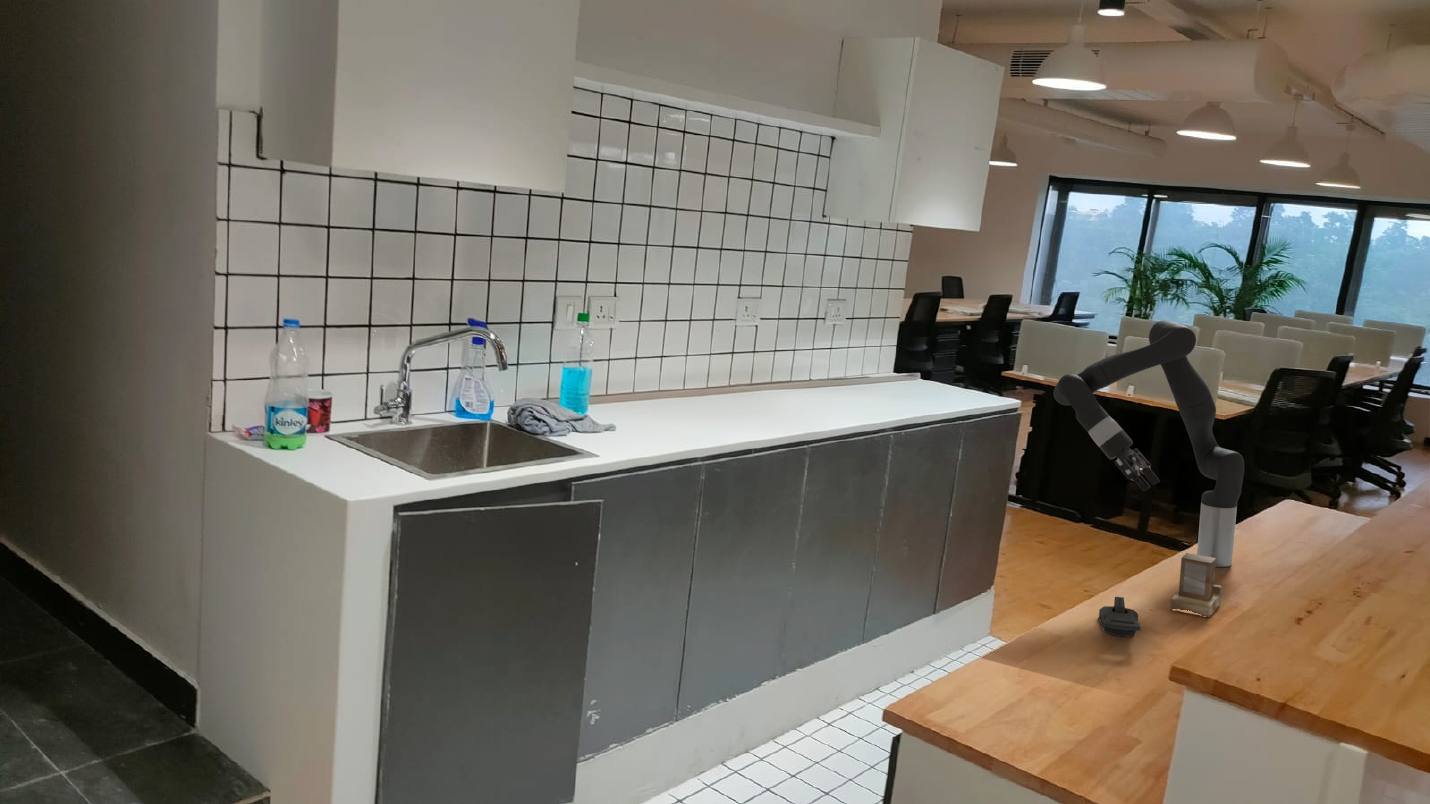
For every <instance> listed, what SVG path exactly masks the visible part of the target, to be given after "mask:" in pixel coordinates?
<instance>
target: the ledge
mask: <svg viewBox="0 0 1430 804" xmlns="http://www.w3.org/2000/svg"><path fill="white" fill-rule="evenodd" d="M1222 587H1223V586H1222V585H1219V584H1214V588H1213V596H1212V598H1211V599H1210V600H1209V601H1203V600H1198V599H1193V598H1188V597H1183V596H1178V595H1179V590H1178V591H1177V592H1176V593H1175V594H1174V595H1173V596H1171V598H1170V609H1180V610H1187V611H1188V610H1189V611H1192V612H1194V613H1198V614H1201V615H1202V616H1206V617H1209V616H1210V615H1211V616H1212V615H1213V614H1214V613H1215V611H1216V610H1217V609H1218V607H1220V605H1221V598H1222V597H1221V596H1222ZM1170 609H1169V610H1170ZM1211 616H1210V617H1211ZM1210 617H1209V618H1210Z"/></svg>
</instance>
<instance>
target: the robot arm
mask: <svg viewBox="0 0 1430 804" xmlns="http://www.w3.org/2000/svg"><path fill="white" fill-rule="evenodd" d="M1148 341H1149V344H1148V345H1145V346H1143V347H1139V348H1137V349H1133V350H1129V351H1123V352H1120V353H1119V352H1118V353H1115V354H1111V355H1109V356H1107V357H1104V358H1102V359H1100V360H1098V361H1096V362H1094V363H1092V364H1090V365H1089V366H1087V367H1086V368H1085V369H1083V371H1081V372H1080V373H1078V374H1074V373H1067V374H1064V375H1063V376H1061V378H1060V379H1059V380H1058V382H1057V383H1056V384H1055V386H1054V389H1053V397H1054V400H1055V401H1056V402H1057V403H1059V405H1062V406H1071V407H1072V408H1073V410H1074V411H1075V418H1076V420H1077V422H1078V423H1079V424H1080V425H1081V426H1082V427H1083V428H1084V430H1085V431H1086V432H1087V433H1088V435H1089V436H1090V437H1091V439H1092V440H1093V442H1094V443H1095V444H1096V446H1098V447H1099V448H1100V450H1101V451H1102V452H1103V454H1105V456H1106V457H1107V458H1108V460H1113V459H1115V458H1116V460H1114V461H1113V463H1114V464H1115V466H1116V467H1117V468H1118V470H1119V471H1120V472H1121V473H1122V475H1123V476H1124V477H1125V478H1126V480H1128V481H1133V482H1134V483H1135V484H1136V485H1137V486H1138V488H1139V489H1140V490H1141V491H1142V492H1146V491H1147V490H1149V489H1150V488H1151V485H1152V486H1155V485H1157V484H1158V483H1160V479H1159V477H1158V476H1157V475H1156V473H1154V471H1153V470H1152V463H1151V462H1150V461H1149V460H1148V459H1147V458H1146V457H1145V456H1144V454H1143V453H1142V452H1140V450H1139V449H1138V448H1134V449H1133V450H1132V448H1131V446H1133V443H1134V441H1133V440H1132V439H1131V437H1130V436H1129V435H1128V434H1127V433H1126V432H1125V430H1124V429H1123V428H1122V427H1121V426H1120V424H1119V423H1118V422H1117V421H1116V420H1115V419H1113V418H1112V417H1111V416H1110V415H1109V414H1108V412H1107V411H1106V410H1105V409H1104V408H1103V407H1102V405H1100V403H1099V402H1098V401H1097V399H1096V397H1095V395H1094V393H1095V392H1098V391H1100V390H1101V389H1104V388H1106V387H1109V386H1110V385H1112V384H1115V383H1117V382H1118V381H1121V380H1122V379H1125V378H1127V377H1129V376H1132V375H1134V374H1137V373H1140V372H1143V371H1145V370H1148V369H1150V368H1153V367H1154V368H1155V367H1157V366H1161V369H1162V370H1163V372H1164V374H1165V377H1166V381H1167V383H1168V385H1169V388H1170V390H1171V393H1172V397H1173V399H1174V402H1175V404H1176V407H1177V409H1178V411H1179V414H1180V417H1181V418H1182V421H1183V424H1184V426H1185V429H1186V432H1187V434H1188V438H1189V440H1190V443H1191V446H1192V450H1193V454H1194V458H1195V461H1196V465H1197V468H1198V470H1199V472H1200V474H1201V475H1203V476H1204V477H1206V478H1208V479H1211V480H1215V486H1214V489H1213V490H1207V491H1204V492H1203V493H1202V495H1201V500H1200V514H1199V525H1198V526H1199V527H1198V539H1197V548H1196V555H1201V556H1207V557H1212V558H1216V565H1215V568H1216V567H1217V568H1219V567H1220V568H1225V567H1226V568H1227V567H1231V566H1232V565H1233V564H1232V563H1233V554H1234V544H1235V534H1236V521H1237V519H1236V518H1237V510H1238V509H1237V508H1238V501H1239V499H1240V497H1241V494H1242V487H1243V482H1244V475H1245V460H1244V457H1243V455H1242V454H1240V453H1239V452H1238V451H1235V450H1230V449H1227V448H1223V447H1220V446H1219V444H1218V442H1217V440H1216V438H1215V435H1214V432H1213V425H1214V422H1215V419H1216V414H1217V406H1216V404H1215V400H1214V398H1213V395H1212V393H1211V390H1210V388H1209V387H1208V385H1207V383H1206V382H1205V381H1204V379H1203V377H1202V376H1201V374H1199V373H1198V371H1197V370H1196V369H1195V367H1194V366H1193V365H1192V363H1191V362H1190V361H1189V358H1188V357H1187V356H1188V355H1190V354H1191V353H1192V352H1193V351H1194V349H1195V347H1196V343H1197V337H1196V333H1195V332H1194V331H1193V329H1191V328H1189V327H1188V326H1186V325H1184V324H1180V323H1177V322H1175V321H1172V320H1160V321H1157V322H1155V323H1154V324H1153V325H1152V327H1151V328H1150V330H1149V333H1148ZM1141 474H1142V475H1143V476H1144V477H1145V478H1144V477H1143V476H1142V475H1141ZM1146 479H1147V480H1146ZM1148 482H1149V483H1150V484H1151V485H1150V484H1149V483H1148Z"/></svg>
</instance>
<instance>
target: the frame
mask: <svg viewBox="0 0 1430 804" xmlns="http://www.w3.org/2000/svg"><path fill="white" fill-rule="evenodd" d="M1215 565H1216V558H1212V557H1207V556H1201V555H1197V553H1196V554H1195V553H1190V552H1189V553H1188V552H1186V553H1185V554H1184V555H1182V557H1181V560H1180V572H1179V573H1180V574H1179V582H1178V583H1179V585H1178V591H1179V595H1178V596H1183V597H1188V598H1193V599H1198V600H1203V601H1209V600H1210V599H1211V598H1212V596H1213V588H1214V585H1215V576H1216V575H1215V573H1216V567H1215Z"/></svg>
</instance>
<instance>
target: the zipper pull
mask: <svg viewBox="0 0 1430 804" xmlns="http://www.w3.org/2000/svg"><path fill="white" fill-rule="evenodd" d="M1113 600H1114V602H1113V606H1112V605H1111V606H1110V605H1109V606H1108V605H1107V606H1106V605H1105V606H1103V607H1101V608H1100V609H1099V610H1098V613H1099V614H1098V619H1099V621H1100V625H1101V627H1102V630H1103V632H1104V633H1105V634H1108V635H1111V636H1113V637H1114V636H1115V637H1121V638H1122V637H1123V638H1127V636H1130V637H1135V636H1136V631H1138V632H1139V631H1142V630H1141V629H1142V628H1141V626H1140V625H1141V624H1140V623H1139V622H1138V621H1139V613H1138V612H1137V611H1135V609H1132V608H1128V607H1126V605H1125V604H1126V603H1125V597H1121V596H1115V597H1114V599H1113ZM1134 635H1135V636H1134Z"/></svg>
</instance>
